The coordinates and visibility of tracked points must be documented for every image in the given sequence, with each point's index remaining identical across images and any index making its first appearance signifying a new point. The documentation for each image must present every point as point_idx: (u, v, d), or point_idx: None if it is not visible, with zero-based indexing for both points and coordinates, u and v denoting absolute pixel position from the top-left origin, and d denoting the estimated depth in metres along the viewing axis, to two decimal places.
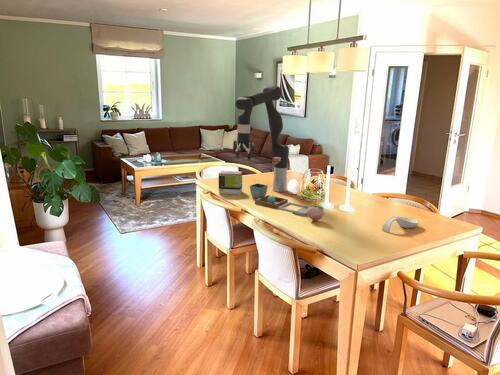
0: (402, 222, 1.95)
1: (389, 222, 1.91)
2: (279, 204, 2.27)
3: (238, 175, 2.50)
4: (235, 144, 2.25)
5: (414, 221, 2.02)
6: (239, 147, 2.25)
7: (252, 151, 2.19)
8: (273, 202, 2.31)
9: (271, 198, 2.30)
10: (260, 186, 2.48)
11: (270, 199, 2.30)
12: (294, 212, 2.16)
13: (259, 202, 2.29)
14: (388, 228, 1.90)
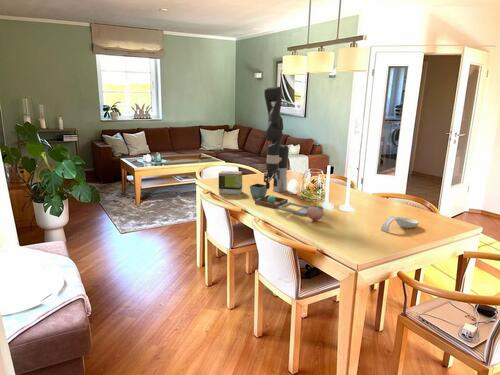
0: (401, 222, 1.95)
1: (388, 222, 1.91)
2: (279, 204, 2.27)
3: (238, 175, 2.50)
4: None
5: (414, 221, 2.01)
6: (268, 178, 2.26)
7: (278, 177, 2.34)
8: (273, 202, 2.31)
9: (271, 198, 2.30)
10: (260, 186, 2.48)
11: (270, 199, 2.30)
12: (294, 212, 2.16)
13: (259, 202, 2.29)
14: (387, 228, 1.90)
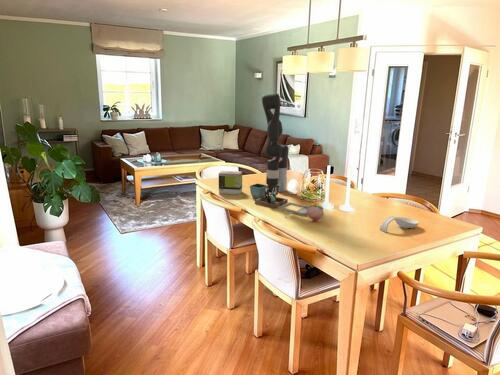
0: (401, 222, 1.95)
1: (387, 222, 1.91)
2: (279, 204, 2.27)
3: (238, 175, 2.50)
4: None
5: (414, 222, 2.01)
6: (269, 193, 2.30)
7: None
8: (273, 202, 2.31)
9: (271, 198, 2.30)
10: (260, 186, 2.48)
11: None
12: (294, 212, 2.16)
13: (259, 202, 2.29)
14: (385, 228, 1.91)
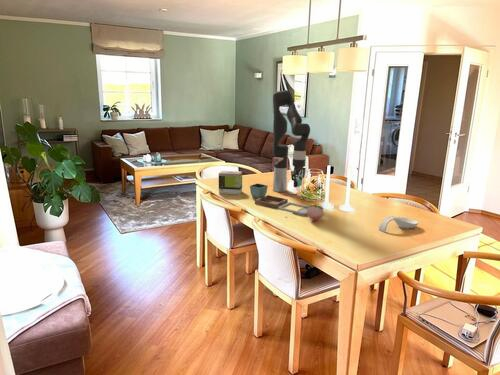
0: (400, 222, 1.94)
1: (386, 222, 1.91)
2: (279, 204, 2.27)
3: (238, 175, 2.50)
4: None
5: (414, 222, 2.00)
6: (295, 175, 2.16)
7: None
8: (300, 185, 2.18)
9: (298, 181, 2.17)
10: (260, 186, 2.48)
11: None
12: (294, 212, 2.16)
13: (259, 202, 2.29)
14: (384, 228, 1.91)
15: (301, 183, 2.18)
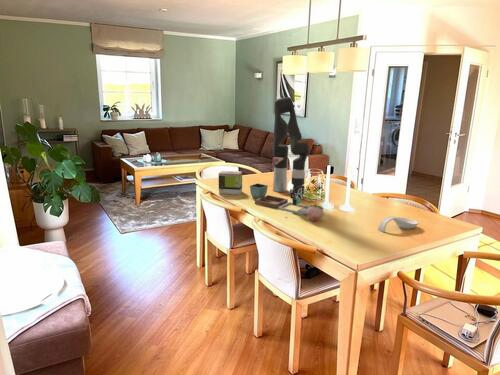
0: (399, 222, 1.94)
1: (385, 222, 1.92)
2: (279, 204, 2.27)
3: (238, 175, 2.50)
4: None
5: (414, 222, 2.00)
6: (294, 193, 2.19)
7: None
8: (298, 203, 2.20)
9: (297, 199, 2.19)
10: (260, 186, 2.48)
11: None
12: (294, 212, 2.16)
13: (259, 202, 2.29)
14: (383, 228, 1.91)
15: (300, 201, 2.20)
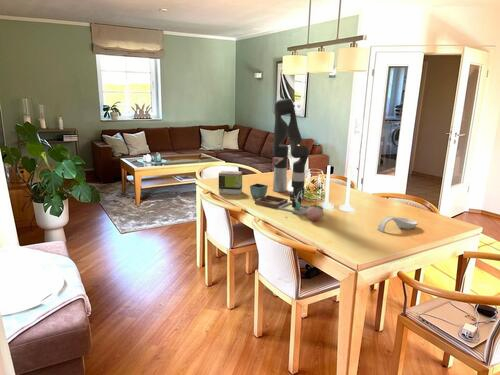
0: (399, 222, 1.94)
1: (384, 222, 1.92)
2: (279, 204, 2.27)
3: (238, 175, 2.50)
4: None
5: (414, 222, 2.00)
6: None
7: None
8: (298, 208, 2.21)
9: (296, 204, 2.20)
10: (260, 186, 2.48)
11: None
12: (294, 212, 2.16)
13: (259, 202, 2.29)
14: (383, 227, 1.91)
15: (300, 206, 2.21)
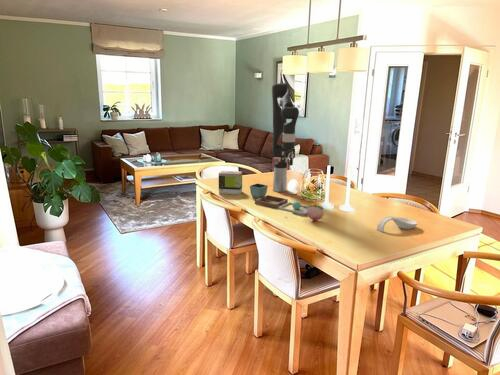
0: (398, 222, 1.94)
1: (383, 222, 1.92)
2: (279, 204, 2.27)
3: (238, 175, 2.50)
4: (284, 155, 2.21)
5: (413, 222, 1.99)
6: (285, 157, 2.24)
7: (294, 156, 2.32)
8: (298, 208, 2.21)
9: (296, 204, 2.20)
10: (260, 186, 2.48)
11: (295, 205, 2.20)
12: (294, 212, 2.16)
13: (259, 202, 2.29)
14: (382, 227, 1.91)
15: (300, 206, 2.21)
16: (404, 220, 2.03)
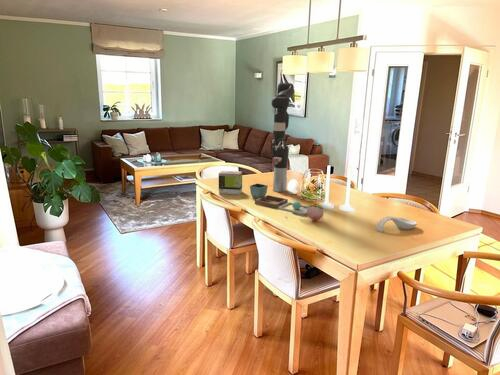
0: (398, 222, 1.94)
1: (382, 221, 1.92)
2: (279, 204, 2.27)
3: (238, 175, 2.50)
4: (274, 143, 2.27)
5: (413, 223, 1.99)
6: (275, 145, 2.30)
7: None
8: (298, 208, 2.21)
9: (296, 204, 2.20)
10: (260, 186, 2.48)
11: (295, 205, 2.20)
12: (294, 212, 2.16)
13: (259, 202, 2.29)
14: (381, 227, 1.91)
15: (300, 206, 2.21)
16: (404, 220, 2.03)
